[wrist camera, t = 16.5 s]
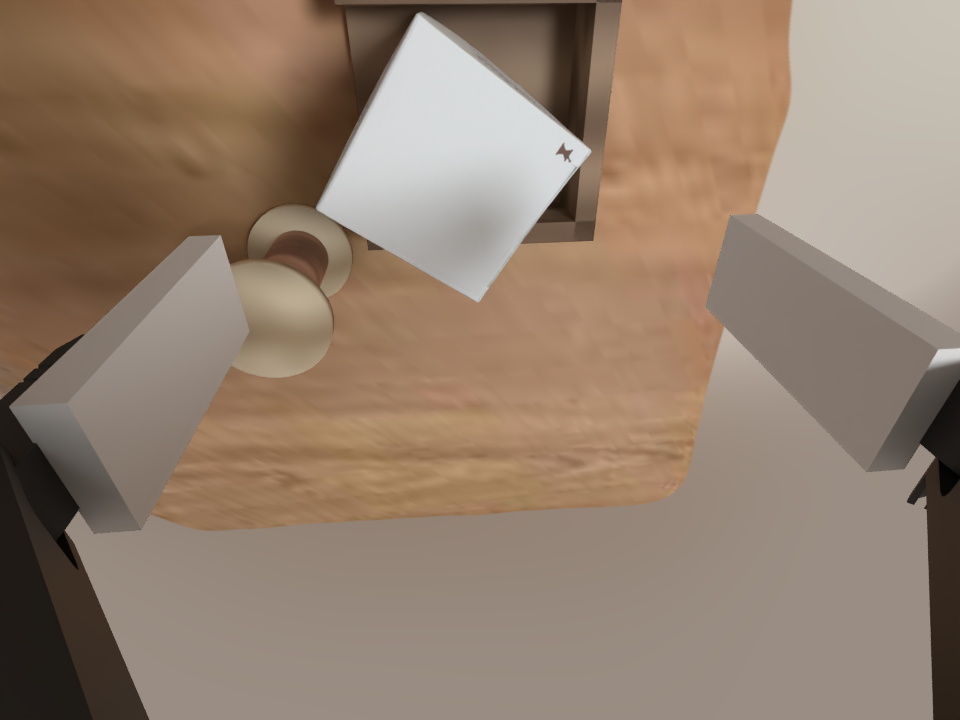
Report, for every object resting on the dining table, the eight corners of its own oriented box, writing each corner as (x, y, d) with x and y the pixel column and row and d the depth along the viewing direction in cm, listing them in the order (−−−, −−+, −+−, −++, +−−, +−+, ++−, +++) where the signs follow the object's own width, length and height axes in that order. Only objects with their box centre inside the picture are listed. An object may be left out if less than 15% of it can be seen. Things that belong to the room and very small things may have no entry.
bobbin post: (239, 205, 39) (177, 268, 29) (344, 201, 40) (319, 262, 30) (264, 298, 44) (218, 381, 34) (359, 294, 44) (341, 373, 34)
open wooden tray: (342, -23, 32) (330, -30, 28) (598, -24, 34) (625, -30, 29) (374, 225, 41) (368, 250, 37) (575, 217, 42) (593, 240, 38)
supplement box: (420, 5, 33) (419, -4, 19) (532, 95, 36) (602, 143, 22) (351, 139, 37) (308, 213, 23) (458, 208, 40) (478, 309, 26)
